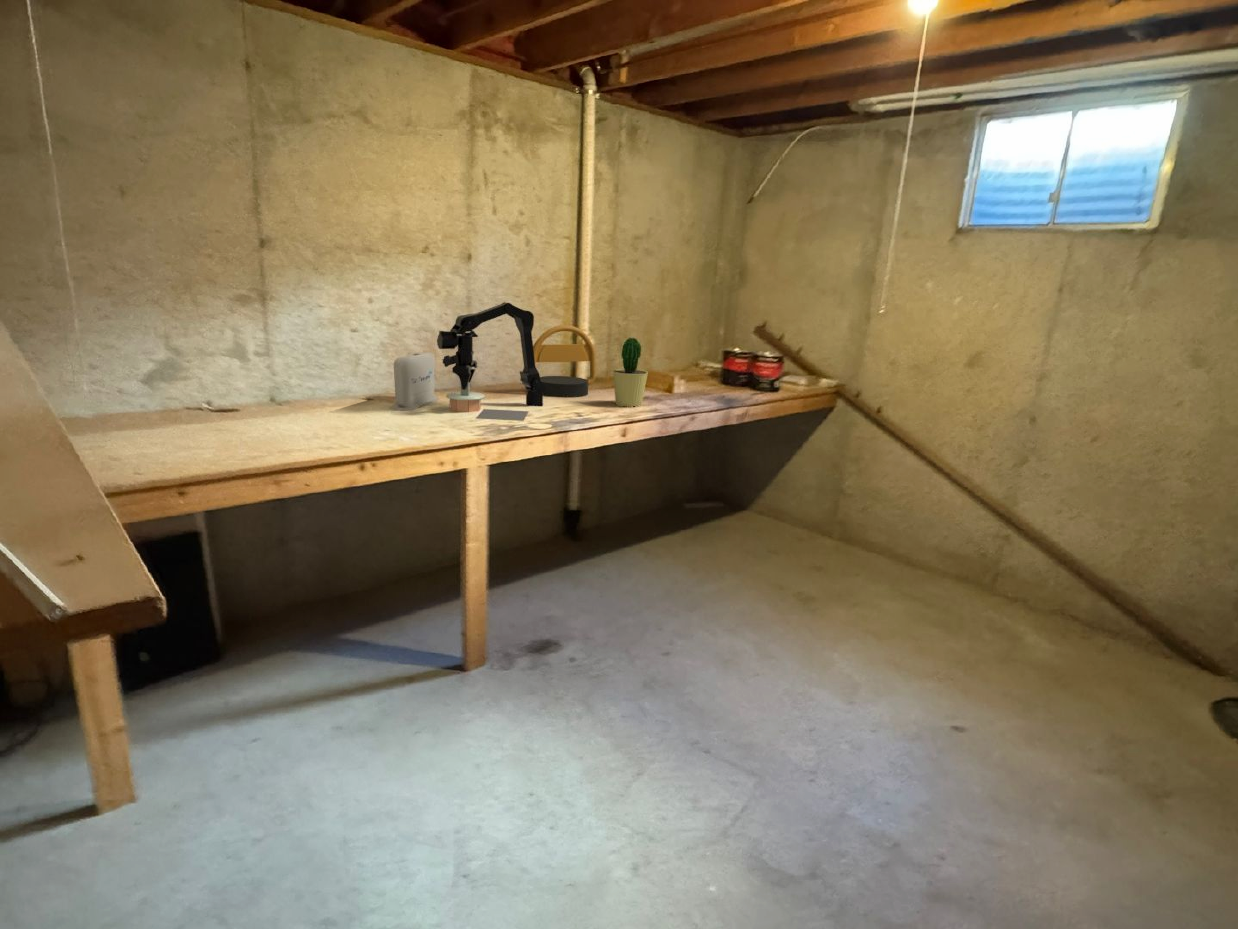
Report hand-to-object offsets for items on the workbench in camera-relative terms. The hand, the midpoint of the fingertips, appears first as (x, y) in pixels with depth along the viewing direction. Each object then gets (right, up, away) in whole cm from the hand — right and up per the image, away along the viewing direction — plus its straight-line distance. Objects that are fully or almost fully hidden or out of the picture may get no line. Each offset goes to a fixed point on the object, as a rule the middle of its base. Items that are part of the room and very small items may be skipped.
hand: (465, 388), depth 271 cm
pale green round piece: (0, -3, +1) cm, 3 cm away
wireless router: (-23, -5, +10) cm, 25 cm away
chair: (+34, +4, +54) cm, 63 cm away
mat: (+16, -11, -4) cm, 20 cm away
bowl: (0, -8, +2) cm, 9 cm away
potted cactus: (+65, -4, +33) cm, 73 cm away
